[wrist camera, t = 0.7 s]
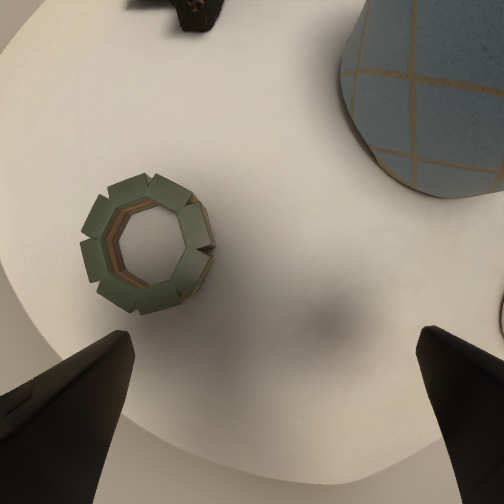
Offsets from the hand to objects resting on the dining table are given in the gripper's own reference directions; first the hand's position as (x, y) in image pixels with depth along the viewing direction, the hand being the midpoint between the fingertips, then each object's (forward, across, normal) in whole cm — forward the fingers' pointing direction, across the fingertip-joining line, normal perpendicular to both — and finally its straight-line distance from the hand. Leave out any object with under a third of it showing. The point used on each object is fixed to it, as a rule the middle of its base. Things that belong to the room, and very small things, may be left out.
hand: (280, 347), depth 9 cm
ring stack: (+13, +8, +2) cm, 16 cm away
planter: (+19, -15, -10) cm, 26 cm away
